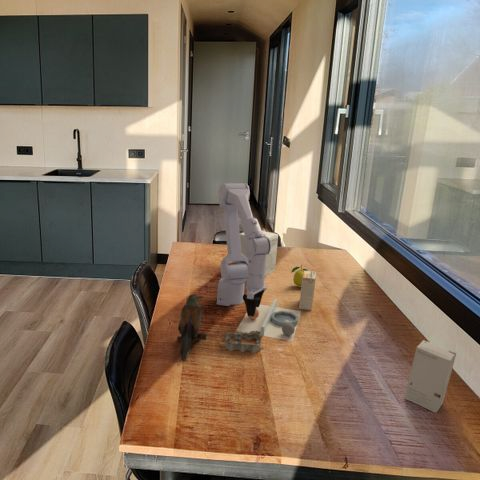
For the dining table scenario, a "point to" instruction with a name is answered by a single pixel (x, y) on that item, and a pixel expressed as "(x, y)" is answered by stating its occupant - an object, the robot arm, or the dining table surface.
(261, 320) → the board
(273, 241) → the supplement box
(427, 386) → the skincare box
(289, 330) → the grey ball
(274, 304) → the fence
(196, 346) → the dining table surface
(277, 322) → the dish
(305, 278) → the supplement box
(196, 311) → the bird figurine
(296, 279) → the lemon
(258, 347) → the egg carton
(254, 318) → the rust ball
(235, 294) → the robot arm
